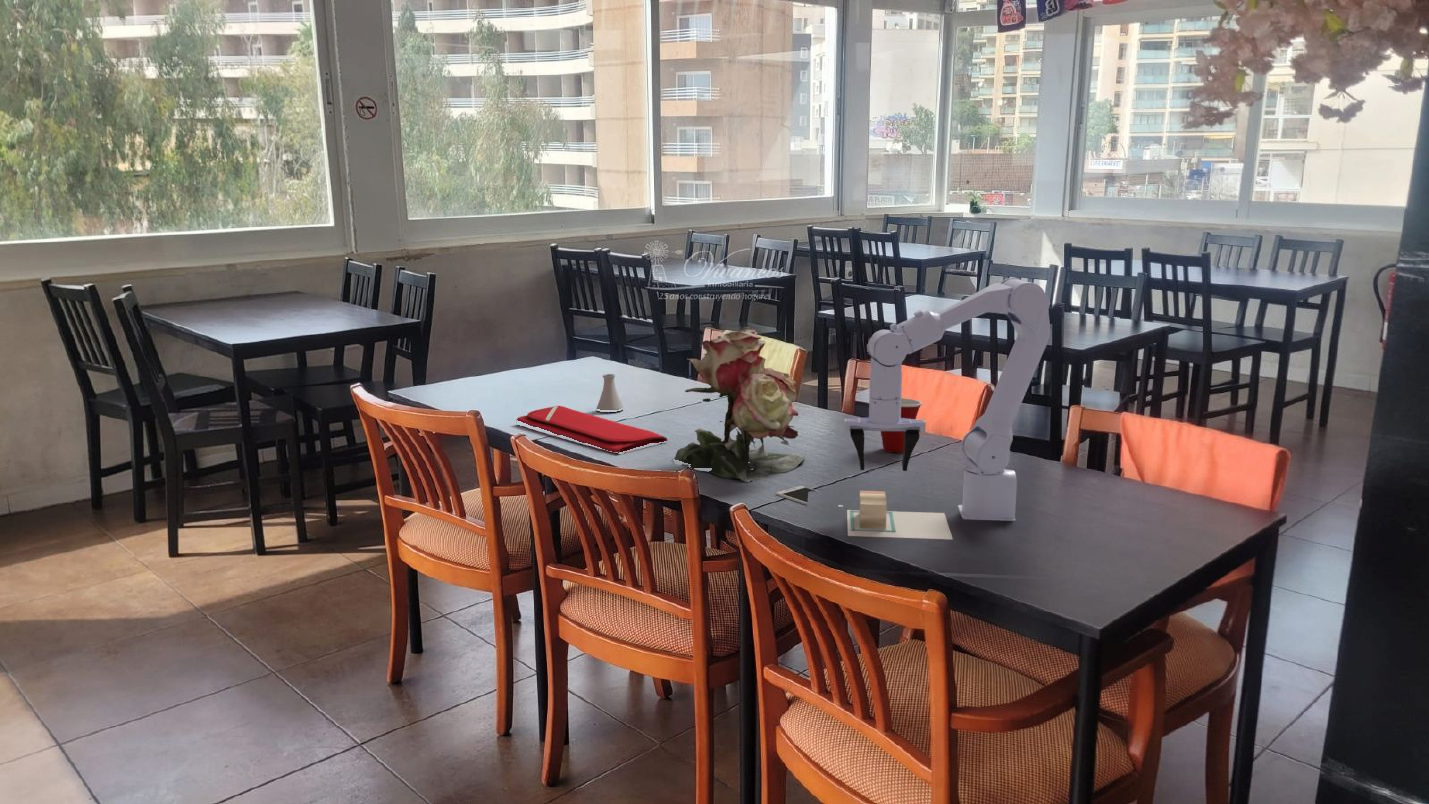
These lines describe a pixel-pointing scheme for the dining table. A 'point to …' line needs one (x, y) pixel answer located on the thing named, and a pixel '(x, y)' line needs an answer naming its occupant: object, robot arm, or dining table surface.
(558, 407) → the dish drying mat
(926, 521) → the mat
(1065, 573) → the dining table surface
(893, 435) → the plastic cup
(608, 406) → the flask
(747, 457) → the rose bouquet
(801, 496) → the smartphone
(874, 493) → the block
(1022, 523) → the dining table surface
